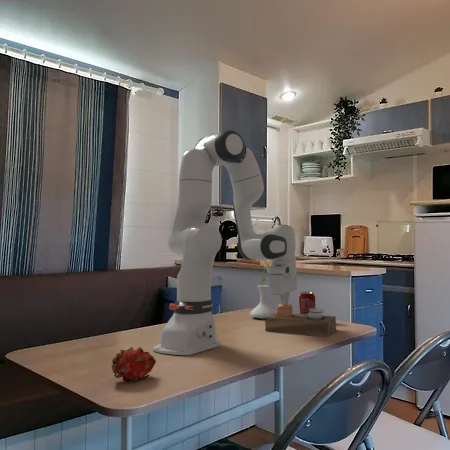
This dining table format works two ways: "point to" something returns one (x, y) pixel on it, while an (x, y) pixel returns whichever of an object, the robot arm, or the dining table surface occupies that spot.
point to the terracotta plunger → (284, 310)
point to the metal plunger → (316, 313)
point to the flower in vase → (262, 300)
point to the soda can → (306, 302)
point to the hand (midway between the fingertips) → (284, 304)
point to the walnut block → (301, 325)
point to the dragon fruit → (133, 364)
